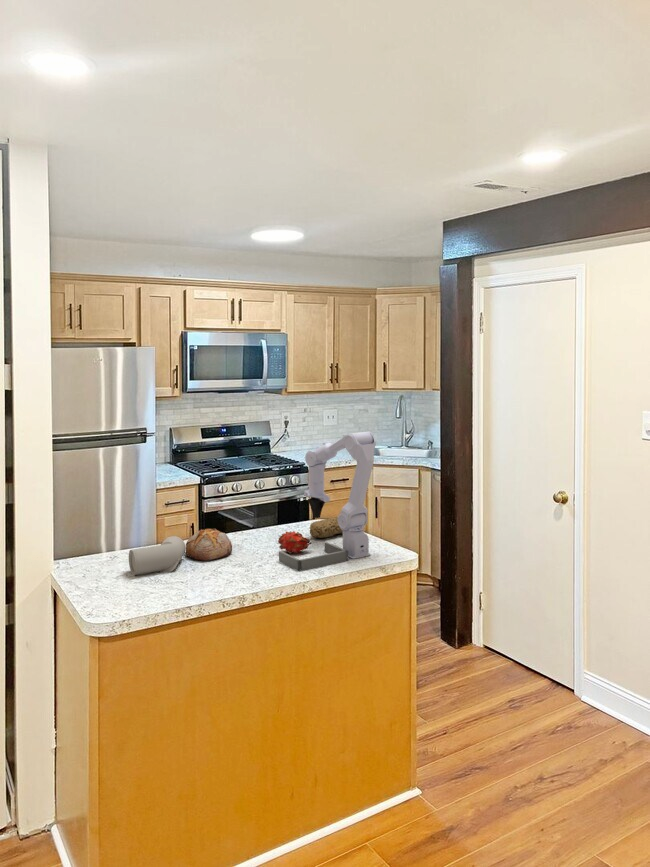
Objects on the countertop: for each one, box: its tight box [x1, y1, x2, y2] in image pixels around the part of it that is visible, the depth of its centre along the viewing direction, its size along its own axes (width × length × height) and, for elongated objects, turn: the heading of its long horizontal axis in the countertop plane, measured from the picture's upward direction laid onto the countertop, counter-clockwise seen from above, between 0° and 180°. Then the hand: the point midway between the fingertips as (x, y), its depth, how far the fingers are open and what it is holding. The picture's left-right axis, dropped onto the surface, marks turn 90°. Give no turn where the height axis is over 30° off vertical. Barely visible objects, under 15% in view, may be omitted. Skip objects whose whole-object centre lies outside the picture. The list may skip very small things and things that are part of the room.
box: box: [278, 541, 349, 572], centre depth 242 cm, size 13×20×4 cm, turn 124°
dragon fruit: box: [277, 530, 312, 555], centre depth 251 cm, size 8×8×12 cm
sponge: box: [309, 515, 343, 539], centre depth 274 cm, size 13×8×20 cm
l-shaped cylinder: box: [128, 535, 186, 576], centre depth 235 cm, size 18×11×20 cm
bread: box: [185, 528, 233, 562], centre depth 251 cm, size 16×20×10 cm
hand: (316, 517), depth 264 cm, fingers closed
